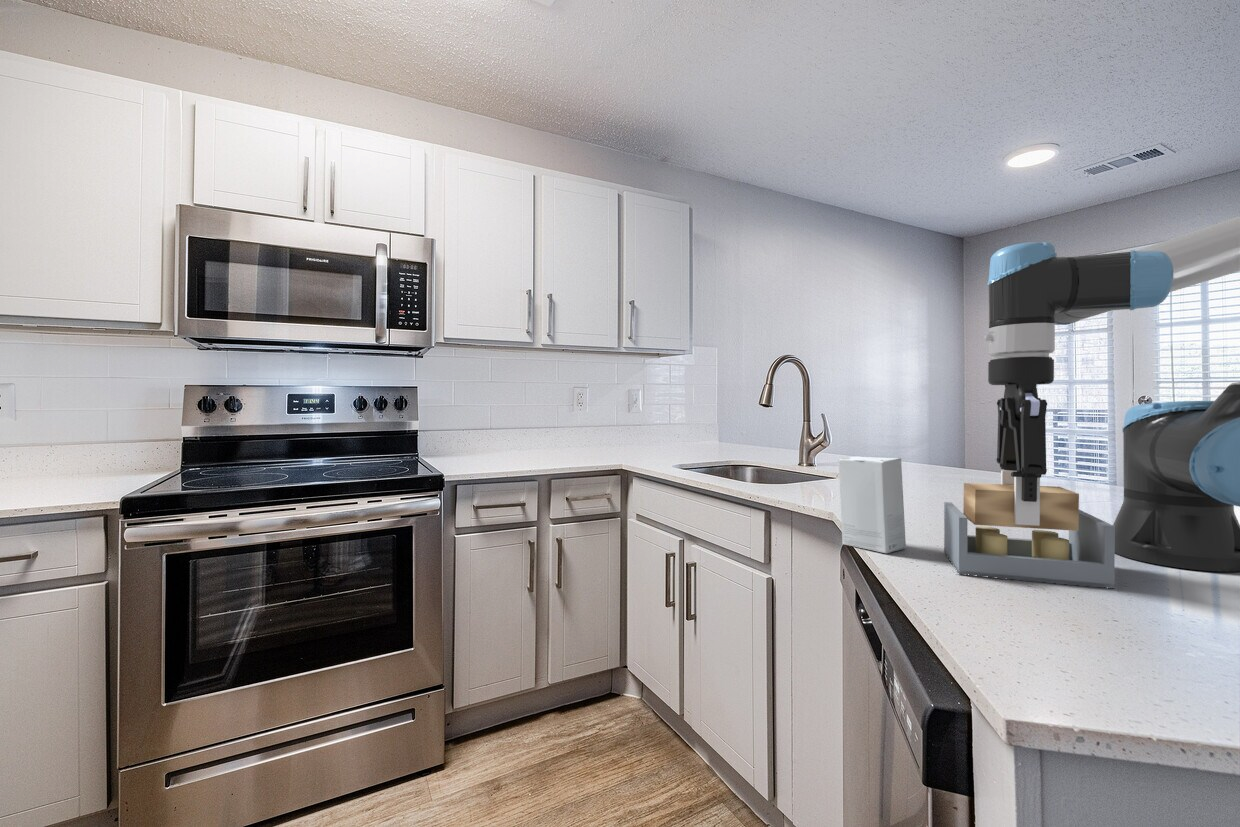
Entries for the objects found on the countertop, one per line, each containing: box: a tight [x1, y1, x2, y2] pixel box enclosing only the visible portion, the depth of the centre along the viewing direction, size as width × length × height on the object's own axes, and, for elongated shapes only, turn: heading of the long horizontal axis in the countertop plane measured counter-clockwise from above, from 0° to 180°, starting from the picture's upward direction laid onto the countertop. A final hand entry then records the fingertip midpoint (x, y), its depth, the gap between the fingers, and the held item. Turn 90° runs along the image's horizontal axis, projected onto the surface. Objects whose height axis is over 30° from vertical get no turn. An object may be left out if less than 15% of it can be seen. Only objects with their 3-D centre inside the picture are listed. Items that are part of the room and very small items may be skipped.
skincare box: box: [838, 455, 907, 554], centre depth 91 cm, size 8×6×15 cm
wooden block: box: [962, 482, 1080, 531], centre depth 78 cm, size 12×6×5 cm, turn 71°
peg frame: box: [943, 501, 1116, 589], centre depth 78 cm, size 17×12×8 cm
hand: (1019, 518), depth 78 cm, fingers closed on wooden block, 6 cm apart
